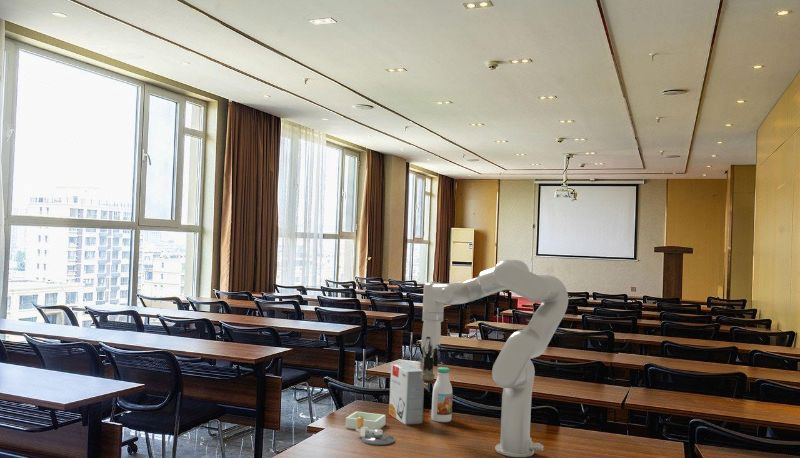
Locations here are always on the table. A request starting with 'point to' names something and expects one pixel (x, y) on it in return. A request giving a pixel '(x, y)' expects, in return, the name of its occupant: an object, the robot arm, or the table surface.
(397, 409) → the hard drive box
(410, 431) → the table surface
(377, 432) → the crank lever
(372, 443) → the crank base
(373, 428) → the tray
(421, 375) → the grenade model
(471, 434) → the table surface
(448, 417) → the milk bottle
